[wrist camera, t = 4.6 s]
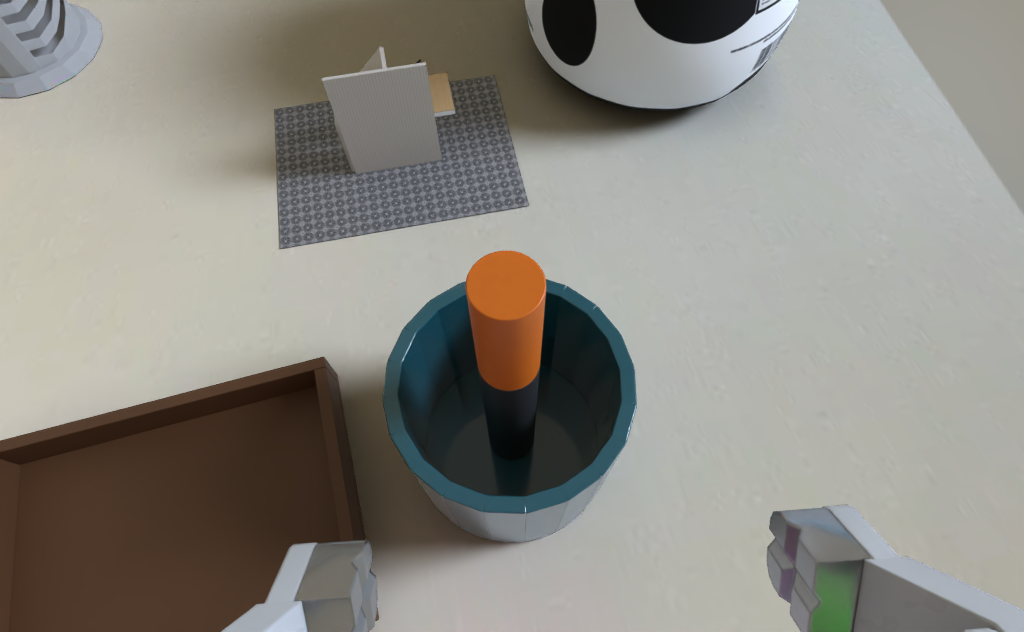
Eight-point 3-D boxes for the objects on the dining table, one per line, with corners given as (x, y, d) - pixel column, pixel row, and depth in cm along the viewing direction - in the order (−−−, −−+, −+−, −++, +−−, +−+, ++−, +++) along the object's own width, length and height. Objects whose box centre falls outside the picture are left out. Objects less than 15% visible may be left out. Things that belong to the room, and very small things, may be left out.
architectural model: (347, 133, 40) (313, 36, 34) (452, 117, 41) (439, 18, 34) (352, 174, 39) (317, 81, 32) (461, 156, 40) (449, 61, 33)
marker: (539, 453, 30) (556, 308, 16) (496, 466, 30) (476, 329, 16) (526, 412, 31) (532, 242, 17) (484, 424, 31) (456, 260, 17)
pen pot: (635, 509, 30) (676, 468, 22) (440, 568, 29) (412, 548, 21) (572, 334, 34) (587, 250, 26) (399, 381, 33) (363, 306, 25)
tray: (379, 619, 28) (367, 619, 25) (-4, 739, 26) (-54, 750, 24) (337, 374, 33) (324, 355, 31) (16, 458, 31) (-23, 445, 29)
